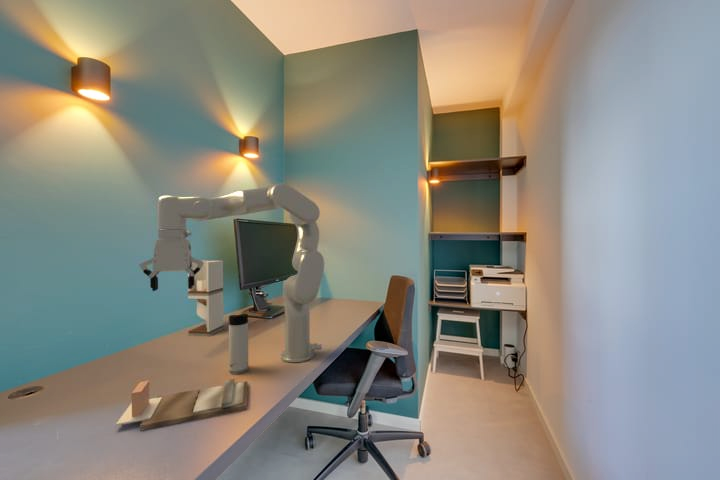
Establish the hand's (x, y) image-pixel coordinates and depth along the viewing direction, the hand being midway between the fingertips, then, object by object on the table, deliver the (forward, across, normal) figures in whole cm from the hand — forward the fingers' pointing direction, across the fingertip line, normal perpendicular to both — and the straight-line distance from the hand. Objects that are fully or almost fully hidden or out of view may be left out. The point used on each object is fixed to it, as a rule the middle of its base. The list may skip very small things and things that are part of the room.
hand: (173, 289), depth 92 cm
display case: (+31, -2, -54) cm, 62 cm away
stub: (+29, +4, +16) cm, 33 cm away
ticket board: (+30, -10, +16) cm, 36 cm away
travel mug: (+31, -19, -3) cm, 36 cm away
